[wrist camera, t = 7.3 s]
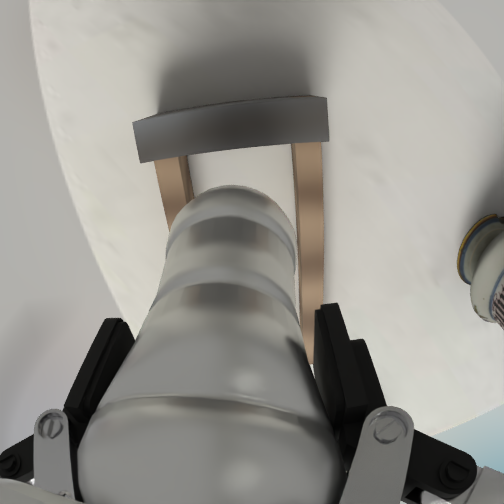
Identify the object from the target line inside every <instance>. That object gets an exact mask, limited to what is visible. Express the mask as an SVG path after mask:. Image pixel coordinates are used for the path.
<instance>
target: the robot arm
mask: <svg viewBox="0 0 504 504" xmlns="http://www.w3.org/2000/svg"><path fill="white" fill-rule="evenodd" d="M134 343H135V339H134V337H133V335H132V333H131V330H130V328H129V326H128V324H127V323H126V322H124V321H123V320H122V319H121V318H106V319H105V320H104V322H103V324H102V325H101V327H100V329H99V331H98V334H97V335H96V337H95V339H94V341H93V343H92V345H91V347H90V349H89V351H88V353H87V356H86V358H85V360H84V362H83V364H82V366H81V368H80V370H79V373H78V375H77V377H76V379H75V381H74V384H73V386H72V388H71V390H70V392H69V395H68V397H67V399H66V402H65V404H64V409H63V411H61V410H59V409H50V410H47V411H45V412H44V413H42V414H41V415H40V416H39V418H38V419H37V421H36V423H35V427H34V434H33V435H31V436H29V437H28V438H26V439H24V440H22V441H21V442H19V443H17V444H15V445H13V446H12V447H10V448H8V449H6V450H5V451H3V452H2V454H1V455H0V504H85V503H84V501H83V498H82V495H81V492H80V489H79V485H78V458H77V451H78V448H79V445H80V442H81V440H82V438H83V436H84V433H85V431H86V429H87V426H88V424H89V422H90V419H91V417H92V415H93V414H94V413H95V412H96V409H97V407H98V405H99V403H100V401H101V399H102V398H103V396H104V394H105V392H106V391H107V389H108V387H109V385H110V384H111V382H112V380H113V378H114V377H115V375H116V373H117V372H118V370H119V368H120V366H121V365H122V363H123V361H124V360H125V358H126V356H127V355H128V353H129V351H130V350H131V348H132V346H133V345H134ZM313 368H314V375H315V381H316V384H317V386H318V389H319V392H320V394H321V397H322V400H323V403H324V405H325V408H326V411H327V413H328V416H329V419H330V422H331V424H332V427H333V430H334V434H335V439H336V440H337V442H338V443H339V447H340V451H341V455H342V459H343V463H344V467H345V470H346V475H347V480H346V483H345V486H344V489H343V492H342V494H341V497H340V500H339V503H338V504H400V501H403V502H405V503H407V504H504V474H503V473H501V472H498V471H496V470H494V469H491V468H489V467H486V466H484V467H483V468H481V467H479V466H477V465H476V462H475V460H474V459H473V458H472V456H471V455H469V454H467V453H466V452H464V451H461V450H459V449H456V448H454V447H452V446H450V445H447V444H445V443H443V442H441V441H438V440H436V439H434V438H432V437H430V436H428V435H426V434H424V433H421V432H419V431H417V430H415V429H414V423H413V421H412V418H411V417H410V415H409V414H408V413H407V412H406V411H404V410H402V409H401V408H397V407H394V406H387V405H386V402H385V398H384V395H383V392H382V389H381V386H380V383H379V380H378V377H377V374H376V371H375V368H374V365H373V362H372V359H371V356H370V353H369V351H368V348H367V345H366V343H365V340H364V339H357V340H350V339H349V336H348V333H347V329H346V326H345V323H344V320H343V317H342V314H341V311H340V308H339V305H338V303H331V304H322V305H321V306H320V309H317V310H315V315H314V355H313Z"/></svg>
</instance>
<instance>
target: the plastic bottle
mask: <svg viewBox="0 0 504 504" xmlns="http://www.w3.org/2000/svg"><path fill="white" fill-rule="evenodd" d="M296 264H297V240H296V235H295V231H294V228H293V226H292V224H291V222H290V220H289V218H288V217H287V216H286V215H285V213H284V212H283V211H282V209H281V208H280V207H279V206H278V204H277V203H276V202H275V201H273V200H272V199H271V198H270V197H269V196H267V195H265V194H264V193H262V192H260V191H258V190H255V189H252V188H249V187H246V186H238V185H226V186H219V187H215V188H211V189H209V190H207V191H205V192H203V193H201V194H199V195H198V196H197V197H195V198H194V199H193V200H191V201H190V202H189V203H188V204H187V205H185V206H184V207H183V208H182V210H181V211H180V212H179V213H178V214H177V216H176V218H175V219H174V221H173V223H172V225H171V229H170V233H169V237H168V242H167V246H166V262H165V266H164V269H163V273H162V277H161V281H160V284H159V288H158V292H157V295H156V298H155V300H154V302H153V304H152V306H151V308H150V310H149V313H148V315H147V317H146V319H145V321H144V323H143V325H142V327H141V329H140V331H139V334H138V336H137V338H136V340H135V343H134V345H133V346H132V348H131V350H130V351H129V353H128V355H127V356H126V358H125V360H124V361H123V363H122V365H121V366H120V368H119V370H118V372H117V373H116V375H115V377H114V378H113V380H112V382H111V384H110V385H109V387H108V389H107V391H106V392H105V394H104V396H103V398H102V399H101V401H100V403H99V405H98V407H97V409H96V412H95V413H94V414H93V415H92V417H91V419H90V422H89V424H88V426H87V429H86V431H85V433H84V436H83V438H82V440H81V442H80V445H79V448H78V451H77V458H78V485H79V489H80V492H81V495H82V498H83V501H84V503H85V504H338V503H339V500H340V497H341V494H342V492H343V489H344V486H345V483H346V480H347V475H346V470H345V467H344V463H343V459H342V455H341V451H340V447H339V443H338V442H337V440H336V439H335V434H334V430H333V427H332V424H331V422H330V419H329V416H328V413H327V411H326V408H325V405H324V403H323V400H322V397H321V394H320V392H319V389H318V386H317V384H316V381H315V378H314V375H313V373H312V370H311V367H310V365H309V362H308V358H307V354H306V350H305V346H304V341H303V337H302V333H301V329H300V325H299V321H298V317H297V313H296V300H295V280H294V274H295V270H296Z"/></svg>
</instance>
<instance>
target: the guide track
mask: <svg viewBox="0 0 504 504" xmlns="http://www.w3.org/2000/svg"><path fill="white" fill-rule="evenodd" d="M132 123H133V129H134V134H135V139H136V145H137V150H138V155H139V160H140V163H145V162H150V161H154V164H155V169H156V174H157V178H158V183H159V188H160V193H161V197H162V202H163V206H164V211H165V215H166V219H167V224H168V228H169V232H170V229H171V225H172V223H173V221H174V219H175V218H176V216H177V214H178V213H179V212H180V211H181V210H182V208H183V207H184V206H185V205H187V204H188V203H189V202H190V201H191V200H193V199H194V194H193V189H192V183H191V178H190V172H189V166H188V160H187V155H193V154H200V153H207V152H214V151H222V150H230V149H239V148H248V147H258V146H269V145H280V144H291V148H292V161H293V175H294V190H295V207H296V225H297V246H298V270H299V302H300V329H301V333H302V337H303V341H304V346H305V350H306V354H307V358H308V362H309V364H313V355H314V315H315V310H317V309H320V306H321V305H322V304H323V274H324V217H323V177H322V153H321V142H328V141H329V126H328V110H327V98H324V97H318V96H311V95H309V96H290V97H275V98H263V99H253V100H243V101H235V102H227V103H219V104H212V105H205V106H199V107H193V108H187V109H181V110H176V111H171V112H165V113H160V114H156V115H153V116H150V117H147V118H144V119H141V120H138V121H135V122H132Z"/></svg>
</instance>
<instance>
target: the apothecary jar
mask: <svg viewBox="0 0 504 504" xmlns="http://www.w3.org/2000/svg"><path fill="white" fill-rule="evenodd" d="M457 269H458V273H459V276H460V278H461V279H462V280H463V281H464V282H465V283H467V284H469V285H471V289H470V296H471V303H472V306H473V309H474V311H475V312H476V313H477V314H478V316H479V317H481V318H482V319H483V320H485V321H487V322H492V323H498V324H499V325H500V326H501V327H502V328H503V329H504V217H501V218H498V216H497V215H496V214H492V215H489V216H486V217H484V218H482V219H481V220H480V221H479V222H477V223H476V224H475V225H474V226H473V227H472V228H471V230H470V231H469V232H468V233H467V235H466V237H465V238H464V240H463V242H462V244H461V247H460V250H459V253H458V259H457Z"/></svg>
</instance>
